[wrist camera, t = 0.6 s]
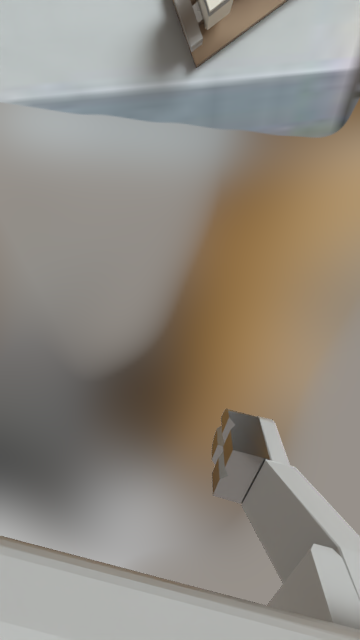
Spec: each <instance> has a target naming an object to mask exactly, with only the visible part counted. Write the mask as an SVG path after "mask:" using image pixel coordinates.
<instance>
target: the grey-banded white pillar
mask: <svg viewBox="0 0 360 640" xmlns="http://www.w3.org/2000/svg"><path fill="white" fill-rule="evenodd" d="M197 1H198V3H199V6H200V9H201V12H202V15H203V18H204V27H205V29H206V28H207V30H208V29H210V28H211V27H212V26H214V25H215V24H216V23H217V22H219V21H220V20H221V19H223V18H224V17H225V16H226V15H228V14H229V13H230V10H231V7H232V3H233V0H196V2H197Z"/></svg>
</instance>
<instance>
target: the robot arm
mask: <svg viewBox="0 0 360 640" xmlns="http://www.w3.org/2000/svg"><path fill="white" fill-rule="evenodd" d="M221 425H222V426H220V427H219V428H217V430H216V433H215V435H214V440H213V444H212V461H213V462H214V464H215V468H214V470H213V472H212V487H213V496H216V497H220V498H223V499H227V500H230V501H234V502H237V503H241V504H242V505H241V506H242V508H243V509H244V511H245V513H246V515H247V517H248V519H249V521H250V523H251V524H252V526H253V528H254V530H255V532H256V534H257V536H258V538H259V540H260V541H261V543H262V545H263V547H264V549H265V551H266V553H267V555H268V556H269V558H270V560H271V562H272V564H273V566H274V568H275V570H276V571H277V573H278V575H279V577H280V579H281V581H282V583H283V585H282V586H281V588H280V589H279V590H278V591H277V593H276V594H275V595H274V597H273V598H272V599H271V601H270V602H269V603H268V605H267V606H266V605H263V604H259V603H255V602H251V601H247V600H244V599H240V598H236V597H232V596H228V595H224V594H221V593H217V592H213V591H209V590H205V589H201V588H198V587H194V586H190V585H186V584H182V583H179V582H175V581H171V580H167V579H163V578H159V577H156V576H152V575H148V574H144V573H140V572H137V571H133V570H129V569H125V568H121V567H117V566H113V565H110V564H106V563H102V562H99V561H94V560H91V559H87V558H83V557H80V556H76V555H72V554H68V553H64V552H61V551H57V550H53V549H49V548H45V547H42V546H38V545H34V544H30V543H26V542H22V541H18V540H15V539H11V538H7V537H4V536H0V640H360V536H359V535H358V534H357V533H356V532H355V531H354V530H353V529H352V528H351V527H350V525H348V523H347V522H346V521H345V520H344V519H343V518H342V517H341V516H340V515H339V514H338V513H337V511H336V510H335V509H334V508H333V507H332V506H331V505H330V504H329V503H328V502H327V501H326V500H325V499H324V498H323V496H322V495H321V494H320V493H319V492H318V491H317V490H316V489H315V488H314V487H313V486H312V485H311V484H310V482H309V481H308V480H307V479H306V478H305V477H304V476H303V475H302V474H301V473H300V472H299V471H298V470H297V468H296V467H293V466H290V464H289V461H288V458H287V455H286V453H285V450H284V447H283V444H282V441H281V439H280V436H279V433H278V430H277V427H276V424H275V422H274V421H273V420H271V419H267V418H263V417H258V416H257V417H256V416H252V415H248V414H244V413H241V412H237V411H233V410H229V409H225V411H224V412H223V415H222V417H221Z"/></svg>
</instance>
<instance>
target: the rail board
mask: <svg viewBox="0 0 360 640" xmlns="http://www.w3.org/2000/svg"><path fill="white" fill-rule="evenodd" d="M172 1H173V4H174V7H175V9H176V12H177V15H178V18H179V21H180V23H181V26H182V29H183V32H184V35H185V38H186V40H187V43H188V46H189V49H190V52H191V54H192V57H193V60H194V63H195V66H196V68H197V67H198V66H200V65H201V64H202V63H204V62H205V61H206V60H208V59H209V58H210V57H212V56H213V55H215V54H216V53H217V52H219V51H220V50H221V49H223V48H224V47H225V46H227V45H228V44H229V43H231V42H232V41H233V40H235V39H236V38H238V37H239V36H240V35H242V34H243V33H244V32H246V31H247V30H248V29H250V28H251V27H252V26H254V25H255V24H256V23H258V22H259V21H261V20H262V19H263V18H265V17H266V16H267V15H269V14H270V13H271V12H273V11H274V10H275V9H277V8H278V7H279V6H281V5H282V4H284V3H285V2H286V1H288V0H233V3H232V7H231V10H230V13H229V14H228V15H226V16H225V17H224V18H223V19H221V20H220V21H219V22H217V23H216V24H215V25H214V26H212V27H211V28H210V29H208V30H207V28H206V29H205V27H204V22H203V23H202V24H201V25H200V26H199V25H198V22H197V19H196V16H195V13H194V10H193V7H192V6H193V5H194V4H195V3H196V0H172Z"/></svg>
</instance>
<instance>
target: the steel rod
mask: <svg viewBox="0 0 360 640" xmlns="http://www.w3.org/2000/svg"><path fill="white" fill-rule="evenodd" d="M192 7H193V10H194V13H195V16H196V19H197V22H198V25H199V26H200V25H201V24H202V23H203V22H204V18H203V15H202V12H201V9H200V6H199V3H198V1H197V2H196V3H195V4H194V5H193V6H192Z"/></svg>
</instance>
